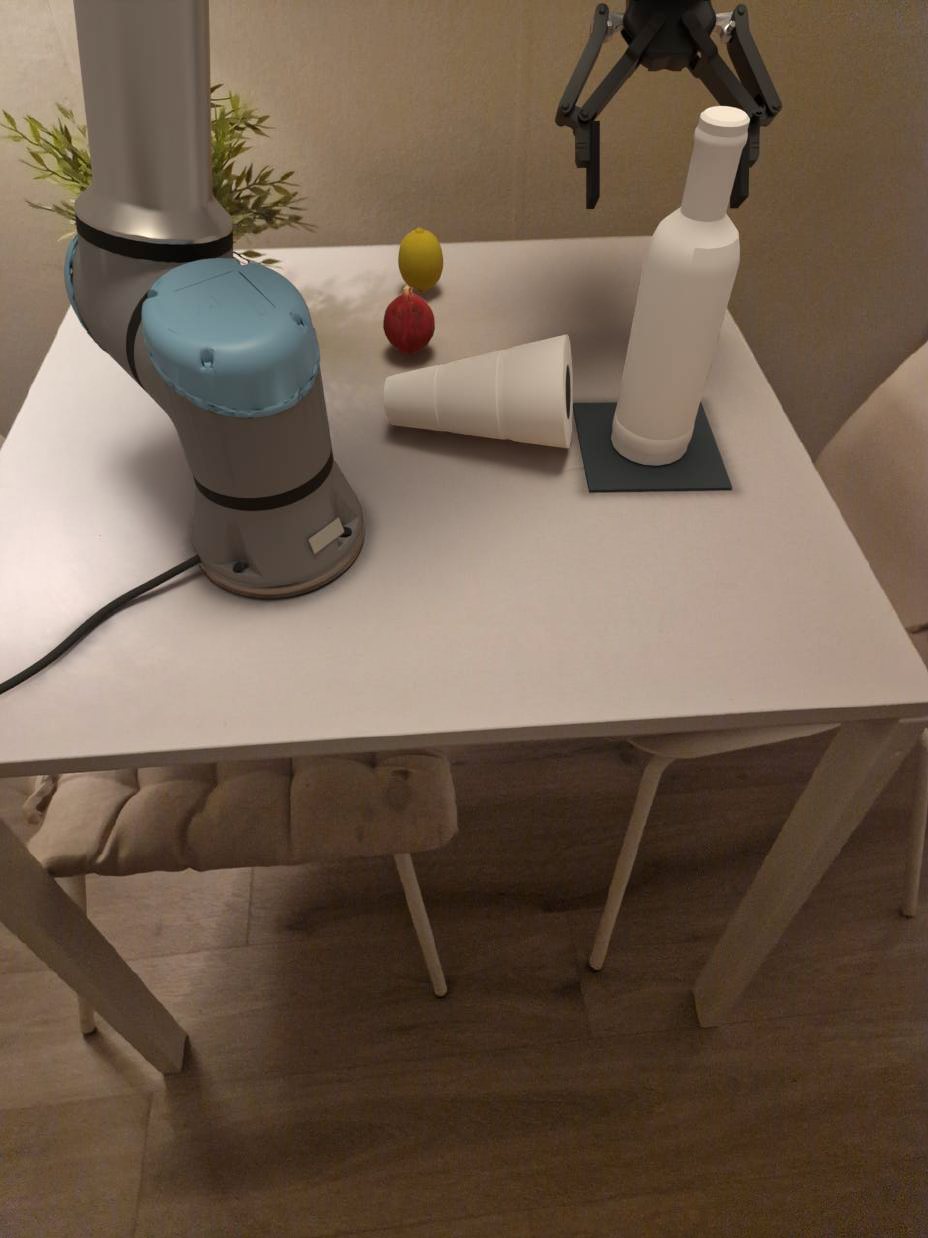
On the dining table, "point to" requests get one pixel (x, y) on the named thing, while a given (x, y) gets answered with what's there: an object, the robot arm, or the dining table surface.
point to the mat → (622, 474)
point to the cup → (491, 395)
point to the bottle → (682, 300)
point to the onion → (409, 322)
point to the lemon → (420, 259)
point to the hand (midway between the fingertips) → (666, 203)
